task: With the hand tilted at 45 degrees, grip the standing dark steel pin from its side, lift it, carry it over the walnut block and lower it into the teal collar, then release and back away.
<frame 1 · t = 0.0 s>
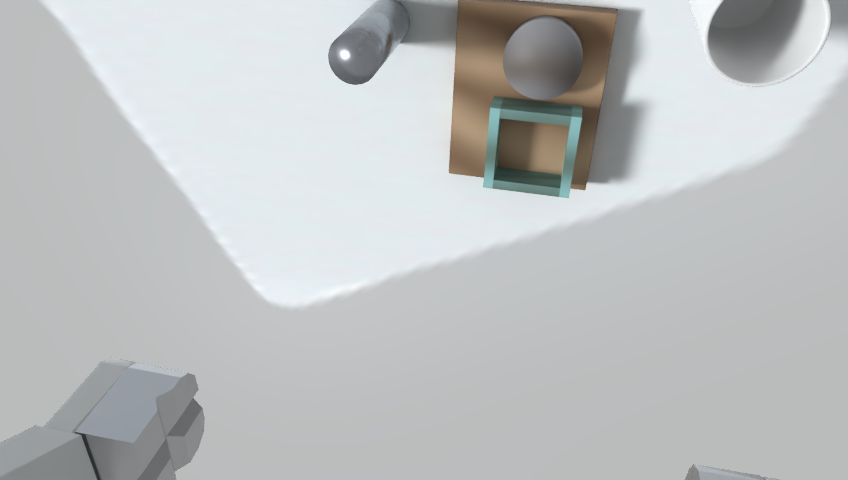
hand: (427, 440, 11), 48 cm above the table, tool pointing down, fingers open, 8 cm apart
pin: (388, 21, 57), on the table
nut block: (526, 94, 58), on the table
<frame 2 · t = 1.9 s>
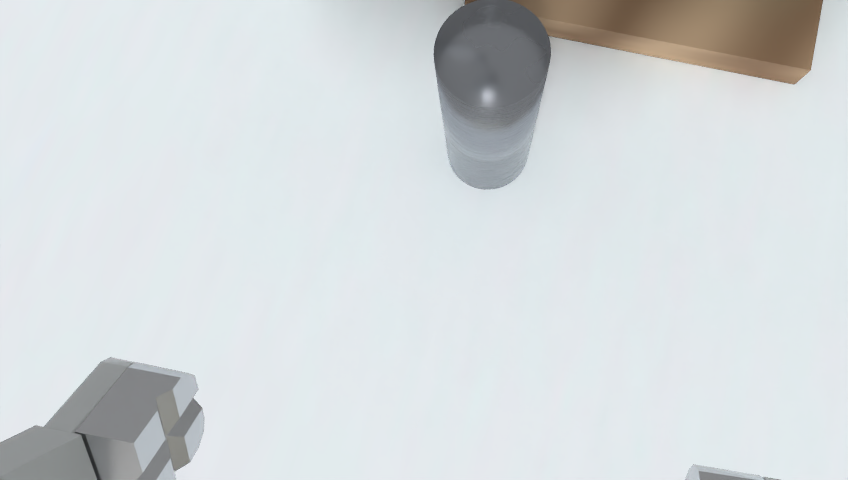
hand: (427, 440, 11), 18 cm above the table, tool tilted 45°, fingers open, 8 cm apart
pin: (487, 150, 31), on the table
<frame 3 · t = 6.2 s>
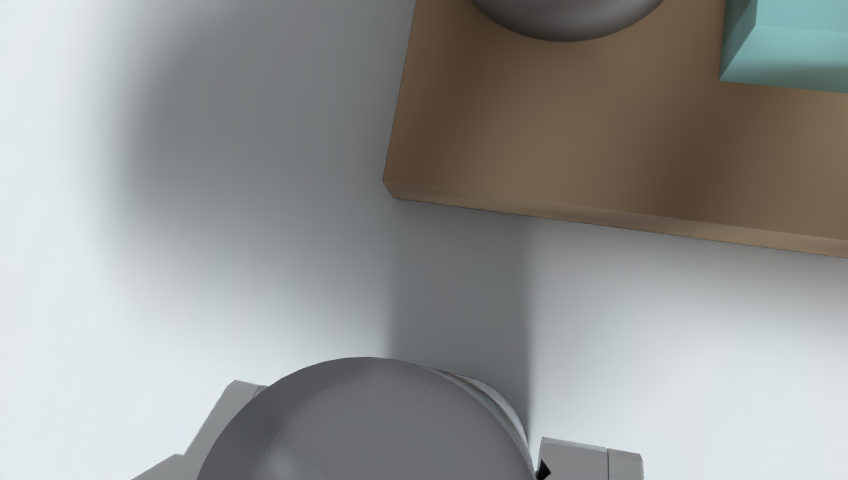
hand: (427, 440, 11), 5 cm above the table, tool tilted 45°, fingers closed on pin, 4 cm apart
pin: (451, 452, 16), on the table, touching gripper
nut block: (714, 14, 18), on the table
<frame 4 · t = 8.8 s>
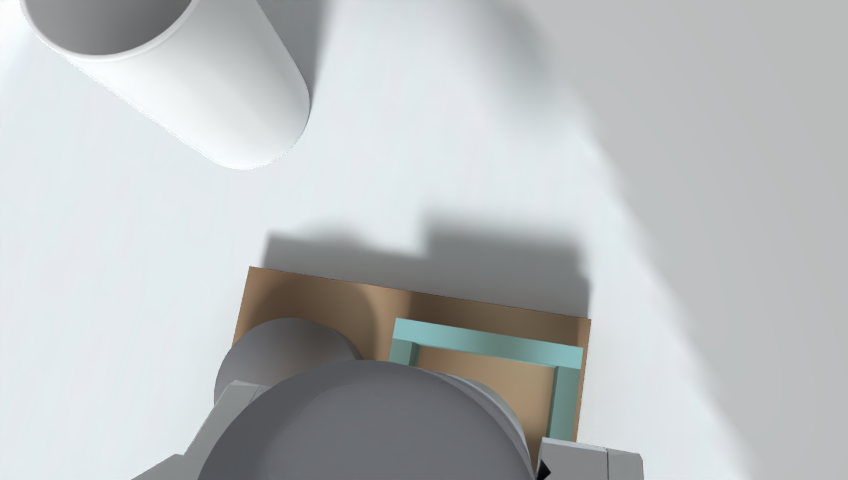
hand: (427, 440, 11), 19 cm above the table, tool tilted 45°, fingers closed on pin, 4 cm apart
pin: (450, 453, 16), point 13 cm above the table, touching gripper
mug: (235, 87, 35), on the table
nut block: (394, 432, 30), on the table
when the fingers open (8 cm above the table, at t = 11.4 s): pin drops 1 cm, resting on nut block.
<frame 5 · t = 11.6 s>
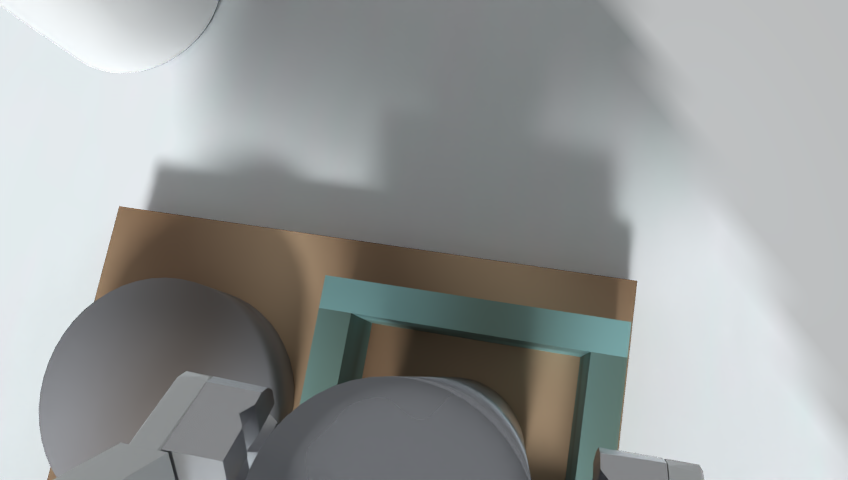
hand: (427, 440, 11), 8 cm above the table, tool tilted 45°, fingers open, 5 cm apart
pin: (453, 448, 18), point 2 cm above the table, touching nut block
nut block: (334, 456, 20), on the table
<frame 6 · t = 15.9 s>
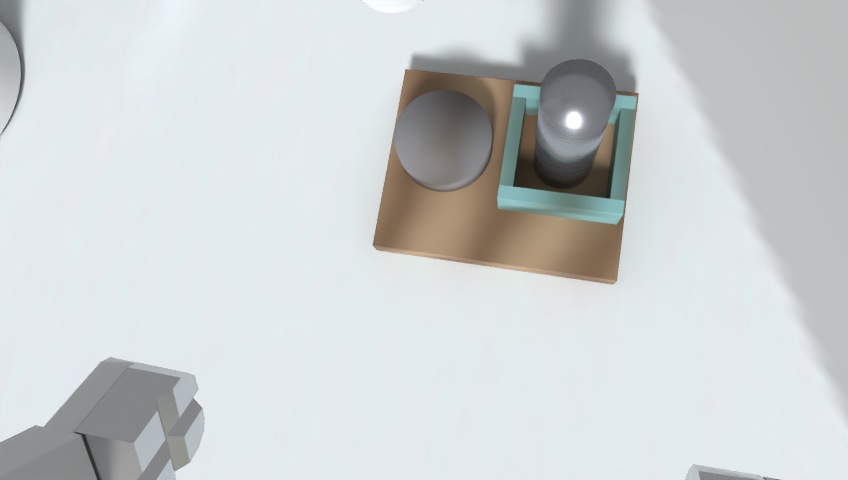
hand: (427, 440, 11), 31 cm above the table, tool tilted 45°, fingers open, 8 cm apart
pin: (562, 161, 43), point 1 cm above the table, touching nut block
nut block: (505, 176, 45), on the table
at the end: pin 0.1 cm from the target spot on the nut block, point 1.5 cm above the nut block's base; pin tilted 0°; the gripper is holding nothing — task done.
